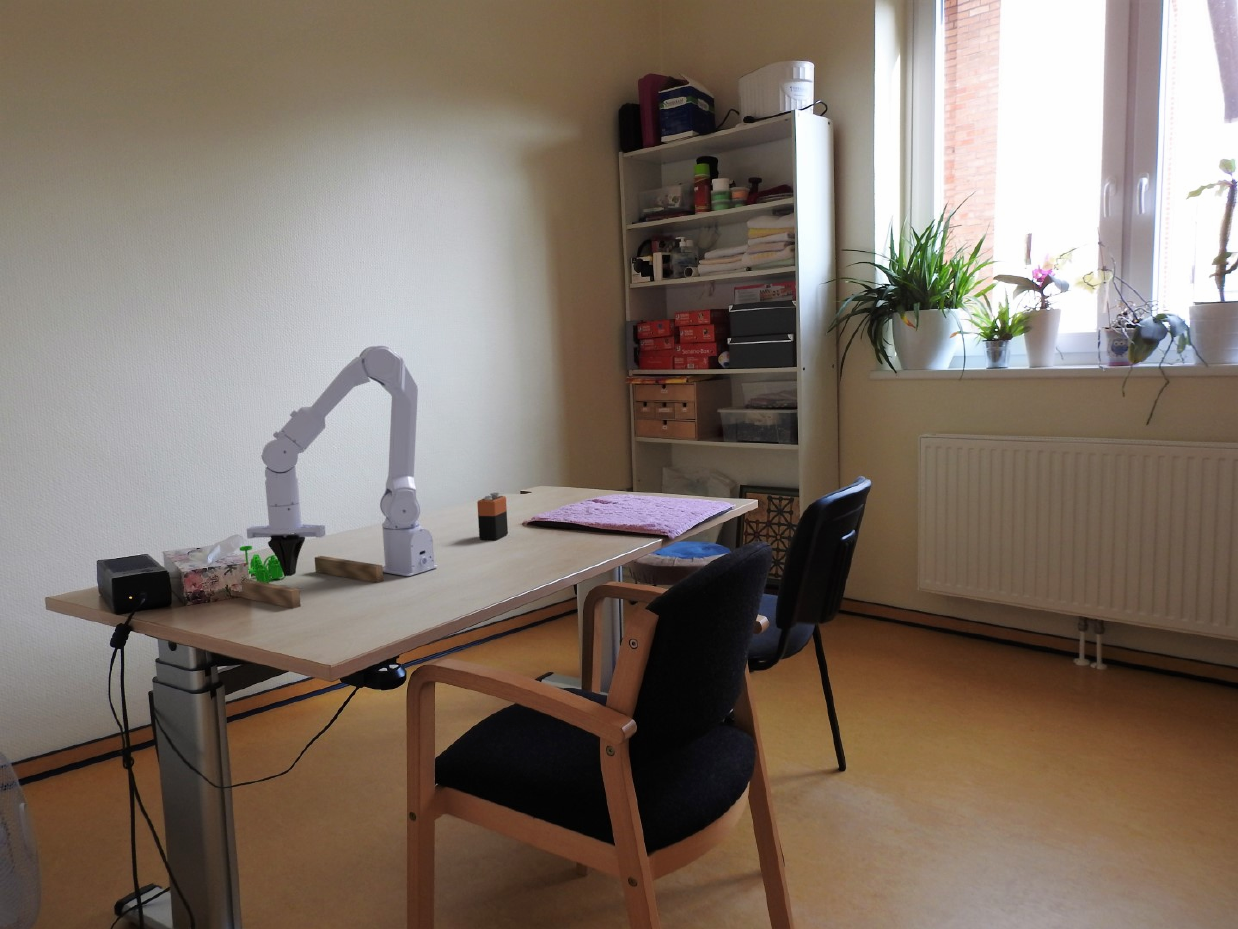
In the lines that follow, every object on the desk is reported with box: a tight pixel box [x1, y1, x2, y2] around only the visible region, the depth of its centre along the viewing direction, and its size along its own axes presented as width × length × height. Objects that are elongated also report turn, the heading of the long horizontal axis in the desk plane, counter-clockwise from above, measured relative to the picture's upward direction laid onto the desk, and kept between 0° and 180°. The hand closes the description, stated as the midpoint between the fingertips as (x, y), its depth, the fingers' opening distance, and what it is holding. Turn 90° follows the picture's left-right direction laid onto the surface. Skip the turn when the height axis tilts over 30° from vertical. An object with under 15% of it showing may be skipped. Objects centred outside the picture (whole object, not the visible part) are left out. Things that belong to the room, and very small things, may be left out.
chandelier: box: [239, 545, 287, 583], centre depth 174 cm, size 15×15×7 cm
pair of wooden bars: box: [230, 555, 384, 609], centre depth 167 cm, size 18×20×3 cm
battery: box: [476, 492, 509, 542], centre depth 205 cm, size 4×7×10 cm, turn 162°
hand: (289, 574), depth 170 cm, fingers closed
